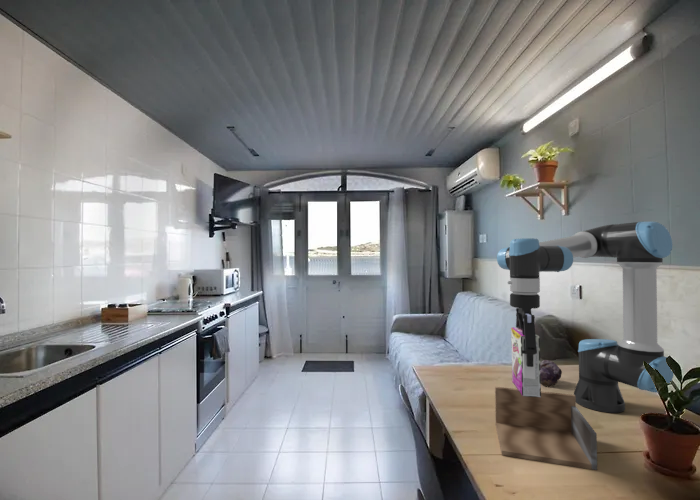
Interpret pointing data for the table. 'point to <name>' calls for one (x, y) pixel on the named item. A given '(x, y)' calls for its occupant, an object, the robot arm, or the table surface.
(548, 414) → the shelf
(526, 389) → the candy bar box
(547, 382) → the rock
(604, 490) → the table surface
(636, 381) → the robot arm
